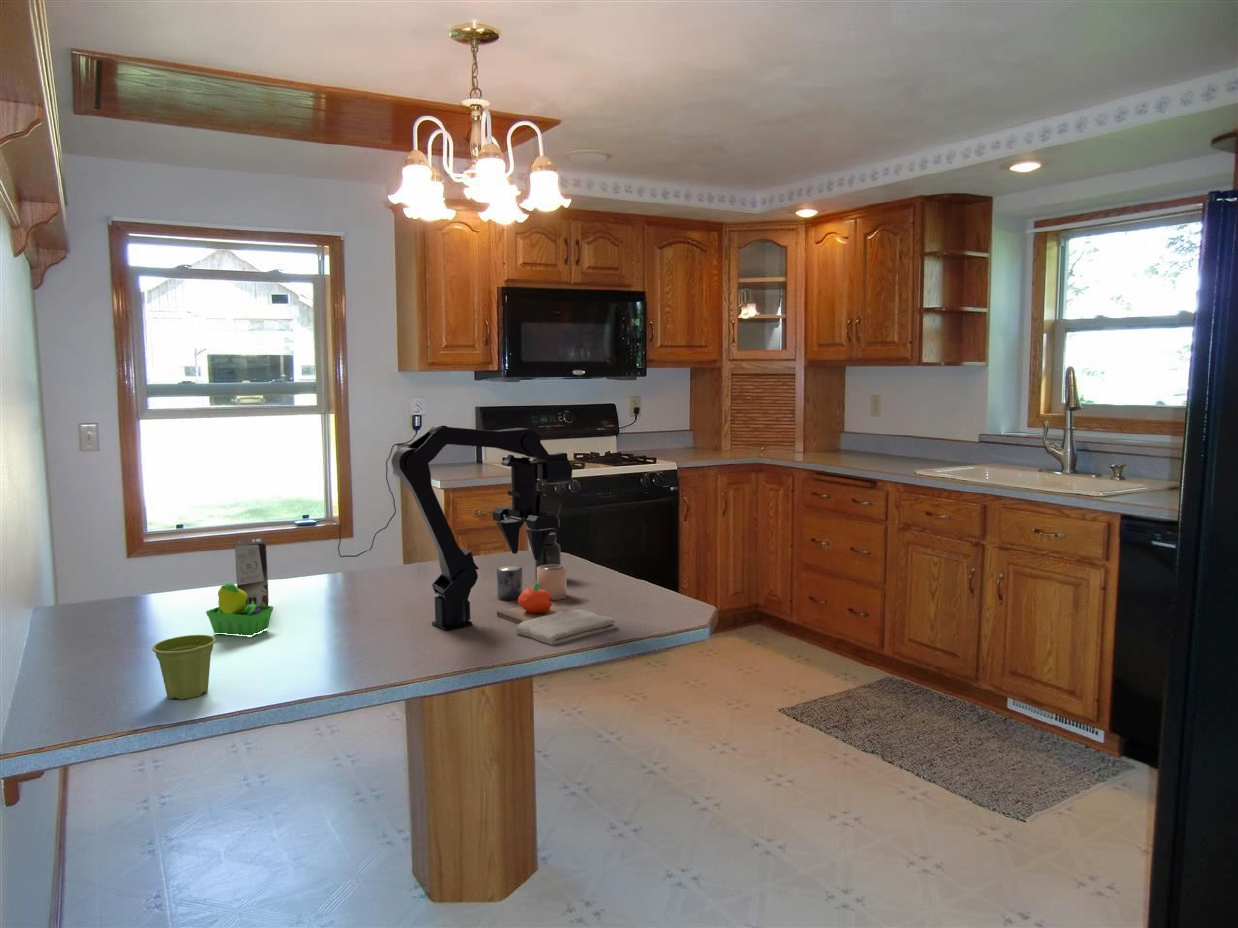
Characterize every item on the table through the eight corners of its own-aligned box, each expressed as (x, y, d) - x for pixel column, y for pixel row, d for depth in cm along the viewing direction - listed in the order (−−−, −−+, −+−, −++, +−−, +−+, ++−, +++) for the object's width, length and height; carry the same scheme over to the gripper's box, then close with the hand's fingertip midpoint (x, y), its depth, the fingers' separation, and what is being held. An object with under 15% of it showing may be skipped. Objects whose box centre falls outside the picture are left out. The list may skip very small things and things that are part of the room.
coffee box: (269, 614, 192) (265, 542, 190) (237, 617, 190) (233, 545, 188) (269, 604, 200) (266, 536, 199) (239, 607, 198) (235, 538, 197)
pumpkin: (538, 607, 193) (541, 579, 192) (557, 615, 186) (559, 586, 186) (510, 608, 188) (513, 579, 188) (528, 616, 182) (531, 586, 182)
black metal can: (506, 601, 200) (505, 572, 200) (492, 597, 205) (491, 568, 204) (527, 597, 204) (526, 568, 203) (513, 593, 209) (513, 564, 208)
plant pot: (160, 708, 136) (156, 655, 135) (151, 691, 143) (148, 641, 143) (223, 695, 141) (220, 644, 140) (212, 680, 149) (209, 631, 148)
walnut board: (527, 627, 179) (527, 622, 179) (496, 615, 188) (496, 611, 188) (573, 616, 187) (573, 612, 187) (542, 606, 196) (542, 601, 196)
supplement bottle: (563, 576, 227) (562, 531, 225) (558, 582, 220) (558, 535, 219) (537, 576, 227) (536, 531, 226) (532, 581, 220) (531, 535, 219)
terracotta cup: (548, 601, 200) (547, 571, 199) (531, 596, 205) (531, 567, 205) (572, 596, 204) (572, 567, 204) (555, 591, 210) (555, 563, 209)
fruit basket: (277, 629, 180) (274, 576, 179) (248, 642, 171) (245, 586, 170) (231, 626, 183) (228, 574, 182) (200, 638, 174) (197, 583, 173)
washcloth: (618, 629, 178) (618, 615, 178) (551, 648, 166) (551, 633, 166) (581, 619, 187) (580, 605, 186) (514, 636, 174) (514, 621, 174)
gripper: (579, 486, 184) (580, 558, 186) (533, 479, 199) (534, 546, 200) (535, 490, 178) (536, 565, 179) (490, 483, 192) (492, 552, 194)
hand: (525, 556), depth 188 cm, fingers open, 9 cm apart
